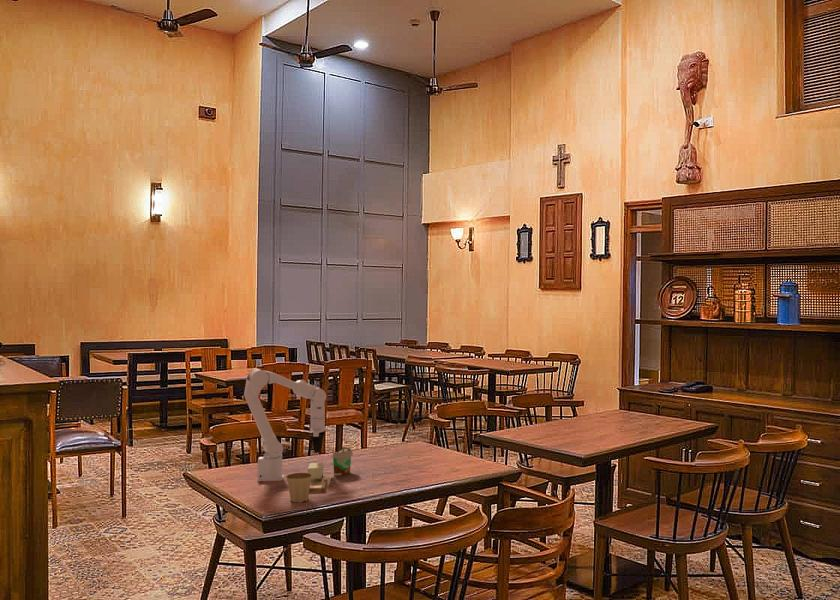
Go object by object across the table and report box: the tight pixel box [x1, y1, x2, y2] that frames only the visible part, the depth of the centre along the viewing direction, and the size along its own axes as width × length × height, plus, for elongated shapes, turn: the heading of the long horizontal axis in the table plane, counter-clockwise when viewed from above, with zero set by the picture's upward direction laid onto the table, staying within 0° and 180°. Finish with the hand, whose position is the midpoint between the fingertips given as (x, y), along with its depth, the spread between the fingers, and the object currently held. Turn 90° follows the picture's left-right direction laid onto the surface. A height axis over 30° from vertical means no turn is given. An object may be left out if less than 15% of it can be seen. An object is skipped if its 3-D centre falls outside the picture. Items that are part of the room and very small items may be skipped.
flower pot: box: [285, 472, 313, 503], centre depth 247 cm, size 9×9×9 cm
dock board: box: [309, 476, 332, 494], centre depth 267 cm, size 12×23×2 cm, turn 3°
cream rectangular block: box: [307, 462, 324, 481], centre depth 275 cm, size 5×10×5 cm, turn 3°
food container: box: [332, 446, 354, 477], centre depth 283 cm, size 12×6×10 cm, turn 168°
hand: (317, 451), depth 284 cm, fingers open, 5 cm apart
